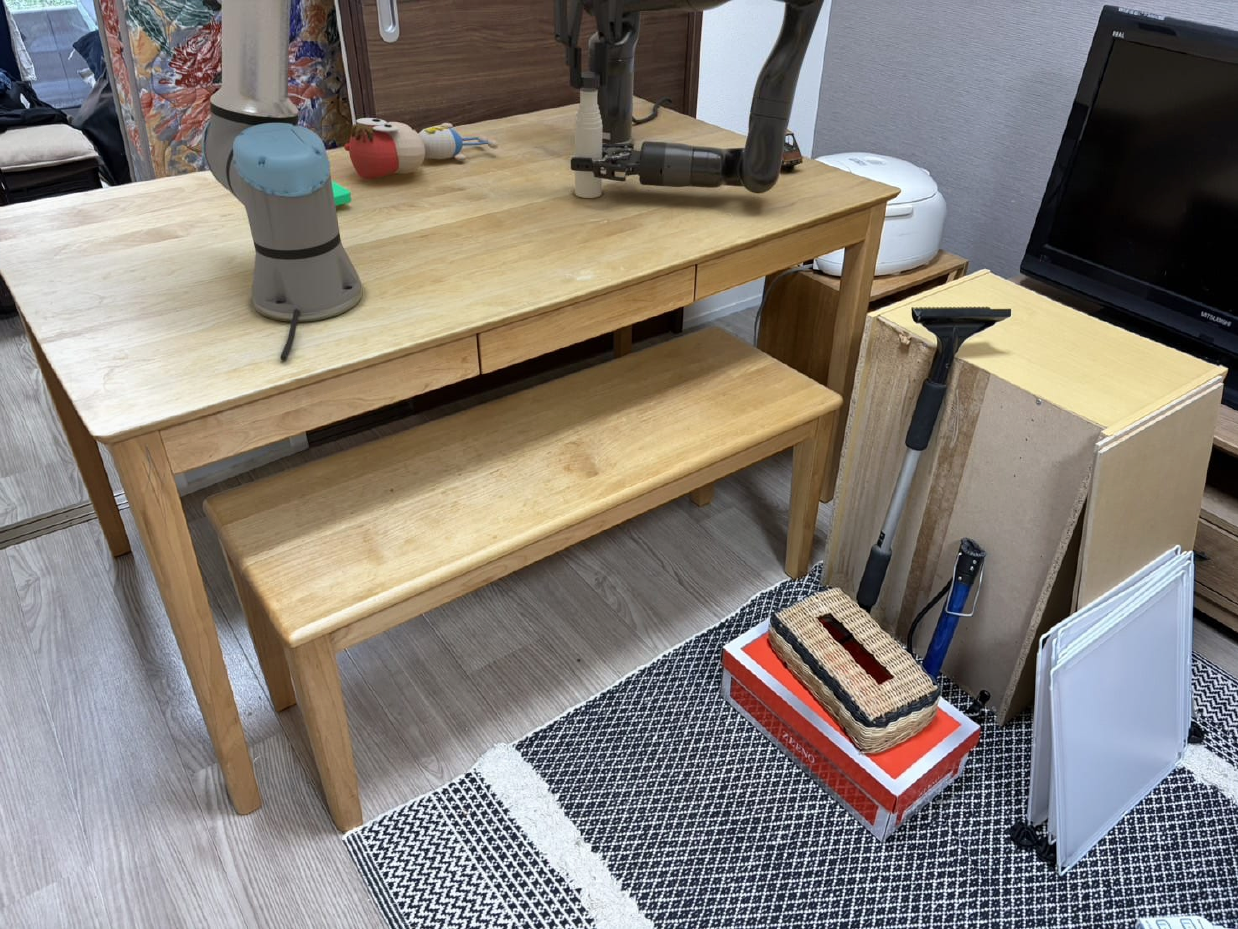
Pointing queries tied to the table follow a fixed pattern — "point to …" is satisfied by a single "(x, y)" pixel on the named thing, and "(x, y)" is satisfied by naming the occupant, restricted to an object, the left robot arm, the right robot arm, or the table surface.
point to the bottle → (588, 142)
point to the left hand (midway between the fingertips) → (587, 85)
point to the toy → (402, 146)
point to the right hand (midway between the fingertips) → (574, 158)
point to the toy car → (791, 153)
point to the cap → (590, 79)
